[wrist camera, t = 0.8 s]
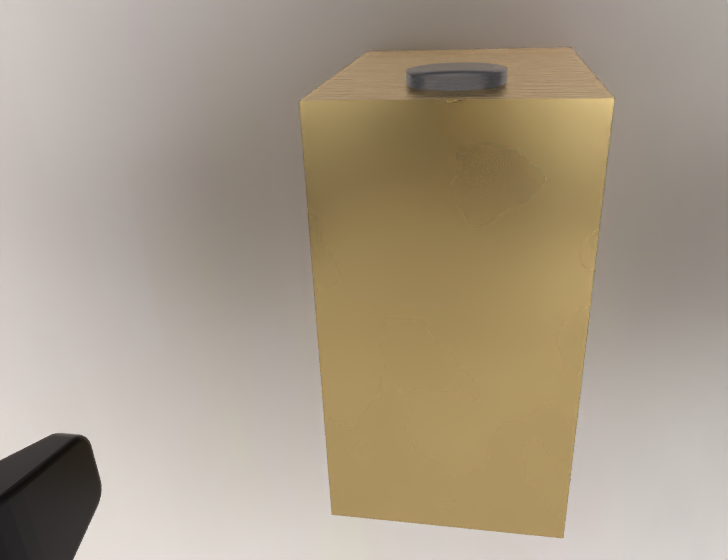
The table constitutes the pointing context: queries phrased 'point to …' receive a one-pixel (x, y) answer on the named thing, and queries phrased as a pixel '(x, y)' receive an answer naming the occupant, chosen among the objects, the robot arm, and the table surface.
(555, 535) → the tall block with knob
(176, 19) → the table surface
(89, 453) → the robot arm
